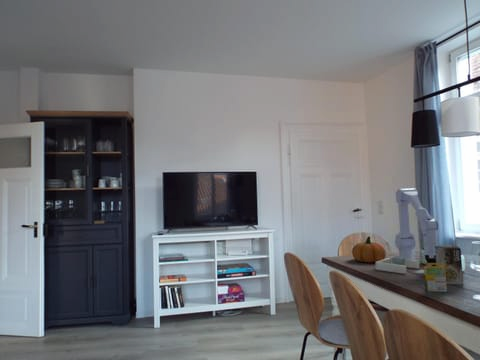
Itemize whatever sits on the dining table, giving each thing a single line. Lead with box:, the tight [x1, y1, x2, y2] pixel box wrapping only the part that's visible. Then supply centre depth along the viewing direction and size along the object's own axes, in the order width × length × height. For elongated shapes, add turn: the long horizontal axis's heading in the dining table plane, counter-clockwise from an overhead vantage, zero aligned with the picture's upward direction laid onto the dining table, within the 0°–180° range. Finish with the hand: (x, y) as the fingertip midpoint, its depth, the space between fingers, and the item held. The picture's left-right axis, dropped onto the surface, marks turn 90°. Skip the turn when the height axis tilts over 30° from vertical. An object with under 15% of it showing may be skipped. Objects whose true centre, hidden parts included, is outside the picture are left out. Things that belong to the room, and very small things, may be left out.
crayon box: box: [423, 262, 448, 293], centre depth 138 cm, size 7×3×12 cm, turn 78°
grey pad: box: [413, 269, 425, 276], centre depth 169 cm, size 9×9×1 cm
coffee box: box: [435, 245, 464, 286], centre depth 150 cm, size 9×6×16 cm
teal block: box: [391, 256, 405, 265], centre depth 180 cm, size 4×5×6 cm
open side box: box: [375, 257, 420, 274], centre depth 181 cm, size 18×16×4 cm
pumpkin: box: [351, 236, 387, 264], centre depth 205 cm, size 19×19×15 cm
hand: (431, 270), depth 168 cm, fingers open, 7 cm apart
